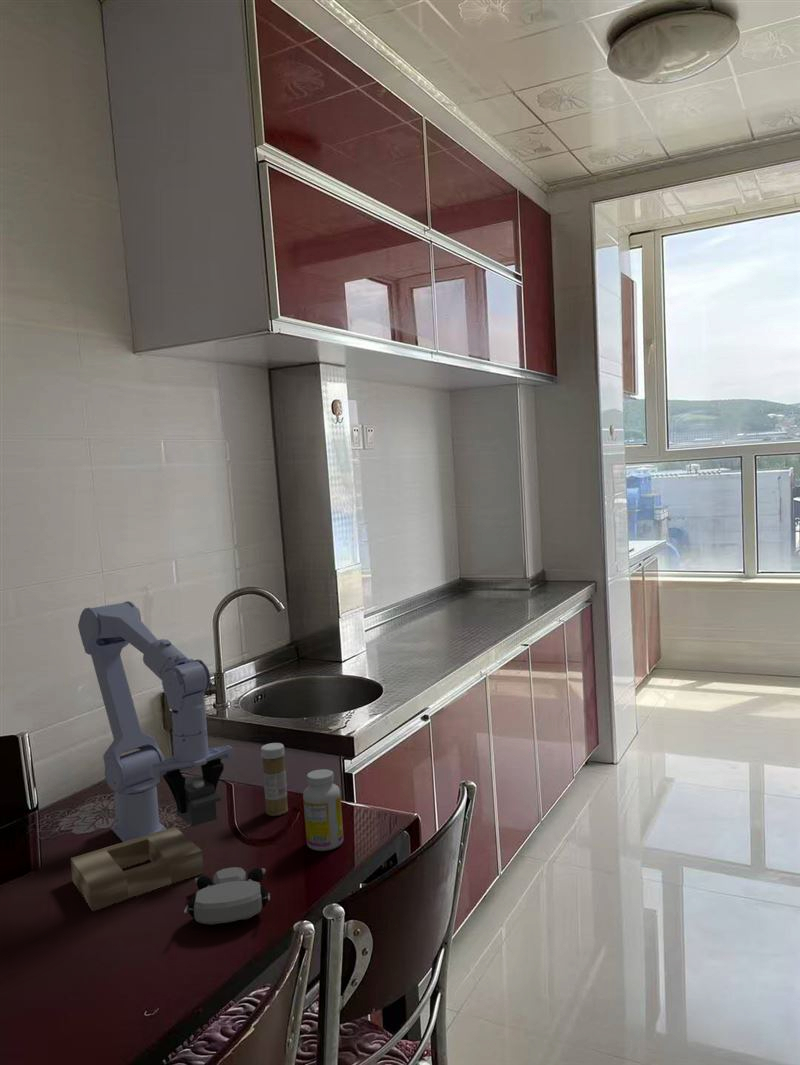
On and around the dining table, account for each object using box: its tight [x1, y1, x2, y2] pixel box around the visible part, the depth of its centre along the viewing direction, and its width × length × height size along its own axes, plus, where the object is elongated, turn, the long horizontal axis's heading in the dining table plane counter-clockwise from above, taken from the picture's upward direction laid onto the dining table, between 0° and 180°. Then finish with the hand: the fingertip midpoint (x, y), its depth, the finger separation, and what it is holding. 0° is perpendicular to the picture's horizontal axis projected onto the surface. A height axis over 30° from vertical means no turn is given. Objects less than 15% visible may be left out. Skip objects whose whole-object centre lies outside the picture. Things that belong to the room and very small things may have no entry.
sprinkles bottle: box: [260, 742, 289, 817], centre depth 156 cm, size 5×5×14 cm
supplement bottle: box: [302, 768, 344, 852], centre depth 141 cm, size 7×7×13 cm
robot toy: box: [183, 866, 271, 926], centre depth 121 cm, size 12×4×15 cm
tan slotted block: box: [70, 826, 204, 912], centre depth 132 cm, size 13×18×4 cm
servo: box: [175, 774, 222, 827], centre depth 138 cm, size 12×4×7 cm, turn 37°
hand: (195, 807), depth 138 cm, fingers closed on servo, 4 cm apart
